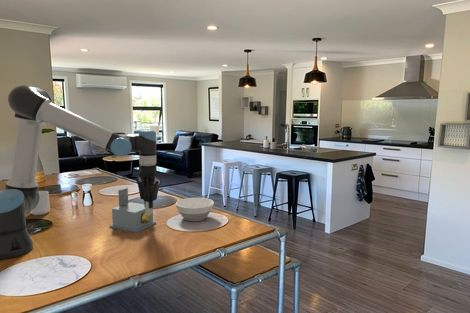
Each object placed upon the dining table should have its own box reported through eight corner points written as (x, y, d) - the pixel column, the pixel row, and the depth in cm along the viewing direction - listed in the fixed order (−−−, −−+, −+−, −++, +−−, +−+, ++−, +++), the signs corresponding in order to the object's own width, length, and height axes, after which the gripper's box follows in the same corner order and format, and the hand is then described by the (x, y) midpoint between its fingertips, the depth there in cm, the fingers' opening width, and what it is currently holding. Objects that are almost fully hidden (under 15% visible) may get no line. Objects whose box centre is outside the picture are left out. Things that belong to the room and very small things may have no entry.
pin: (150, 221, 159) (150, 210, 158) (143, 224, 154) (143, 213, 153) (122, 216, 166) (122, 206, 165) (114, 219, 162) (114, 208, 161)
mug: (49, 214, 176) (47, 193, 175) (29, 216, 173) (28, 195, 171) (51, 208, 187) (49, 188, 186) (32, 210, 184) (30, 190, 182)
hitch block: (156, 223, 163) (155, 205, 162) (136, 232, 151) (135, 213, 149) (130, 218, 170) (130, 201, 169) (109, 227, 158) (108, 208, 156)
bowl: (177, 226, 160) (177, 209, 158) (174, 214, 178) (173, 198, 177) (217, 222, 165) (217, 206, 164) (210, 211, 183) (209, 196, 182)
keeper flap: (127, 188, 162) (126, 187, 163) (120, 190, 158) (118, 190, 158) (128, 204, 163) (126, 203, 164) (120, 206, 159) (119, 206, 159)
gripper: (164, 164, 152) (165, 214, 156) (142, 162, 158) (143, 210, 161) (154, 166, 146) (154, 219, 149) (131, 164, 151) (132, 214, 154)
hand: (148, 214), depth 155 cm, fingers closed
